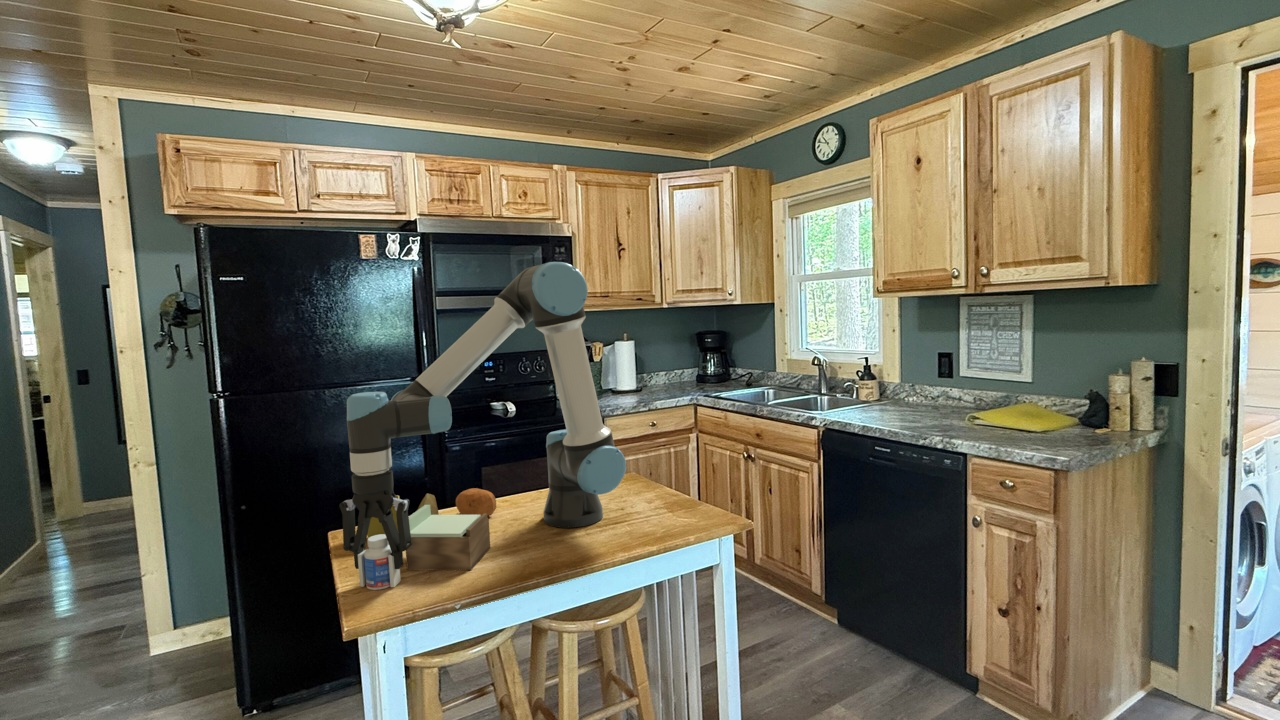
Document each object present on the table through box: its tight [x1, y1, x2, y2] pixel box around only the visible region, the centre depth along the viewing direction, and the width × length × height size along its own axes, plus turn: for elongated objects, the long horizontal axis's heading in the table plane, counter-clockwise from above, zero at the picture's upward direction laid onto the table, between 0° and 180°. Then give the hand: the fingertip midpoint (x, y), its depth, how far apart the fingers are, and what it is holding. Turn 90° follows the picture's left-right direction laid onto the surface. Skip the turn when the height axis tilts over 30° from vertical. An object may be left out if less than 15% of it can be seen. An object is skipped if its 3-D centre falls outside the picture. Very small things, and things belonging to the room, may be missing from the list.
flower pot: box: [367, 494, 401, 538], centre depth 152 cm, size 9×9×9 cm
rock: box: [417, 493, 440, 515], centre depth 152 cm, size 11×9×10 cm
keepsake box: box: [405, 513, 491, 571], centre depth 138 cm, size 14×12×8 cm
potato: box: [455, 487, 497, 517], centre depth 166 cm, size 9×11×8 cm
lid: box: [408, 505, 481, 537], centre depth 138 cm, size 13×12×3 cm
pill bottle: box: [364, 534, 392, 591], centre depth 126 cm, size 6×5×10 cm
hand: (380, 583), depth 126 cm, fingers open, 6 cm apart
